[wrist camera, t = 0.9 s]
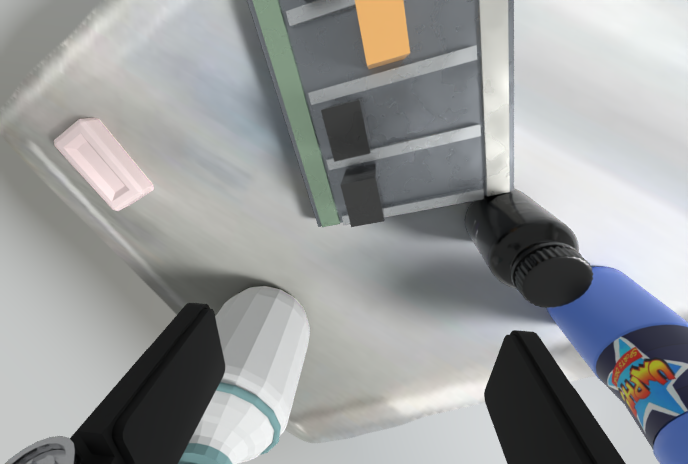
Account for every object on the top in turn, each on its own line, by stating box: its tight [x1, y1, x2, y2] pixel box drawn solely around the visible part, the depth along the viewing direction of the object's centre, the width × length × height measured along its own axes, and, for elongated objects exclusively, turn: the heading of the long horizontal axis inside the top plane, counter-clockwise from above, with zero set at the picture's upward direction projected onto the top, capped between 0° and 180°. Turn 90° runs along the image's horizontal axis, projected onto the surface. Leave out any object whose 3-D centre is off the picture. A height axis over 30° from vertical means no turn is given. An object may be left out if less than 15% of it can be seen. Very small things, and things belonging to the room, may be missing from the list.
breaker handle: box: [355, 0, 410, 69], centre depth 21 cm, size 3×4×5 cm
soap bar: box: [54, 118, 154, 211], centre depth 33 cm, size 5×9×2 cm, turn 29°
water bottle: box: [547, 267, 688, 464], centre depth 24 cm, size 9×9×25 cm
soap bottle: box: [178, 286, 310, 464], centre depth 27 cm, size 12×12×31 cm
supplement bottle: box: [465, 189, 593, 308], centre depth 26 cm, size 7×7×12 cm
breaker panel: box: [247, 0, 514, 227], centre depth 24 cm, size 20×25×7 cm
